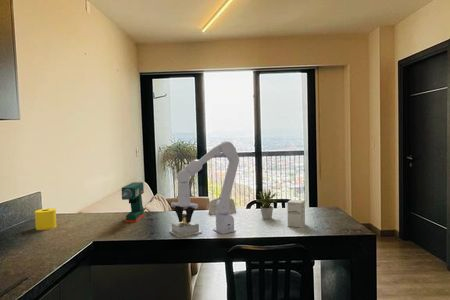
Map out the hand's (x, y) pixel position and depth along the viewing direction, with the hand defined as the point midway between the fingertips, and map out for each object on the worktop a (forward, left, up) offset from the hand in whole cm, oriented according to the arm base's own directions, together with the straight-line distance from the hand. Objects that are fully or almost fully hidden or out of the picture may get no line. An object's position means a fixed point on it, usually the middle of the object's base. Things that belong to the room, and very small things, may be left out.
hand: (184, 222), depth 170 cm
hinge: (+27, -37, -6) cm, 46 cm away
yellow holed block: (+55, +58, -6) cm, 80 cm away
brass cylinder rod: (0, 0, -4) cm, 4 cm away
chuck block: (0, 0, -5) cm, 5 cm away
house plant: (-2, -49, -5) cm, 49 cm away
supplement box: (-22, -52, -6) cm, 57 cm away
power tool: (+40, +15, -6) cm, 43 cm away
